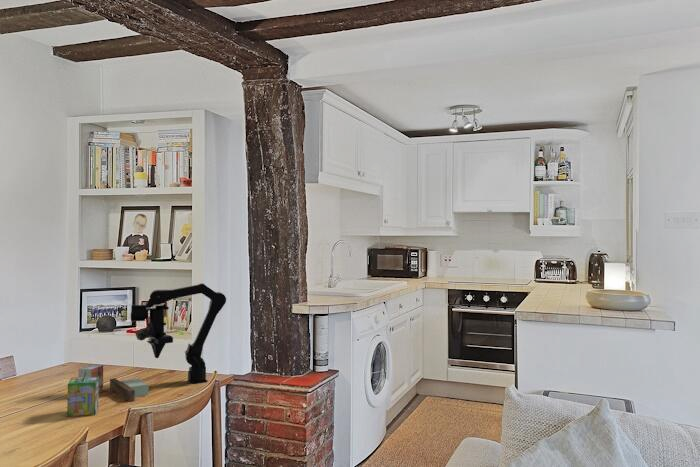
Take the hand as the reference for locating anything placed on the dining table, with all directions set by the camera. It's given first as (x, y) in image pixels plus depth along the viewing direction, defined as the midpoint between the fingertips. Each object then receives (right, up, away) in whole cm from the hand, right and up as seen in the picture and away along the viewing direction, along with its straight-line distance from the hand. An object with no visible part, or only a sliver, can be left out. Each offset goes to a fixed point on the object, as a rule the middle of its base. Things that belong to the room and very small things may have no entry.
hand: (156, 358), depth 245 cm
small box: (-21, -11, -15) cm, 28 cm away
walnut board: (-8, -11, -16) cm, 21 cm away
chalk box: (-13, -11, -40) cm, 43 cm away
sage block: (-4, -11, -14) cm, 18 cm away
